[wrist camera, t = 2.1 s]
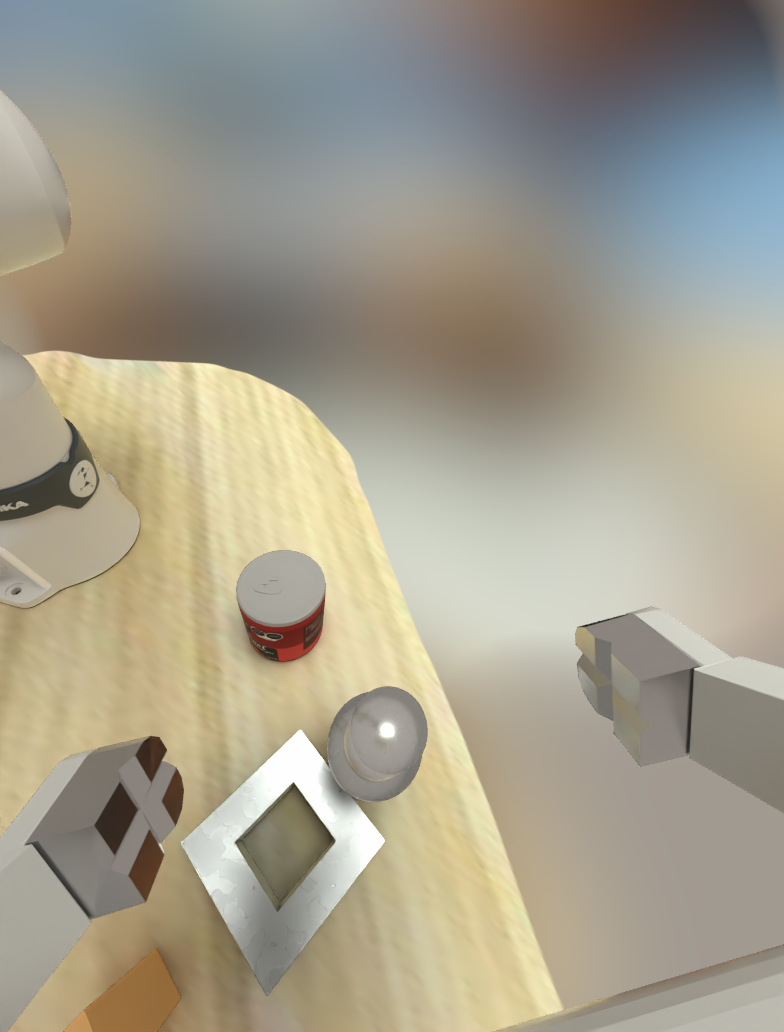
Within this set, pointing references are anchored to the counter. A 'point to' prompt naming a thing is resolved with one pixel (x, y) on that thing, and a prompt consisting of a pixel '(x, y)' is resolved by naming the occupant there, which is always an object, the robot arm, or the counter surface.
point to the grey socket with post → (353, 772)
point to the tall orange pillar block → (132, 1001)
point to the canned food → (282, 603)
